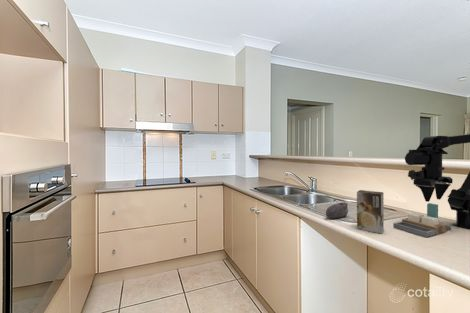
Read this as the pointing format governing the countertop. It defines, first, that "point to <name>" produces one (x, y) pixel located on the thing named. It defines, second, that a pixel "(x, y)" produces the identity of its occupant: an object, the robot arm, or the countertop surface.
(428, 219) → the tile
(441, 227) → the walnut board
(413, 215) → the tile
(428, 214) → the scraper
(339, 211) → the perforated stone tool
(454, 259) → the countertop surface
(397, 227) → the box
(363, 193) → the coffee box
